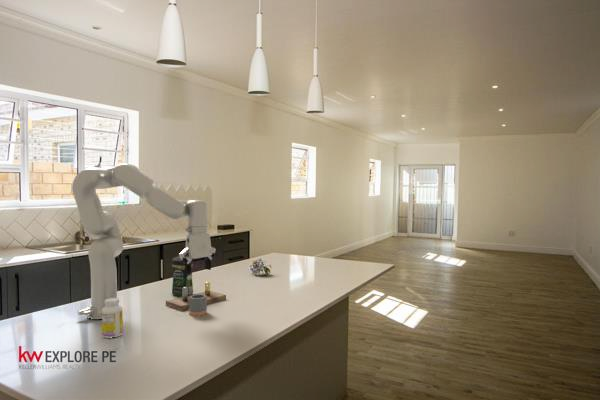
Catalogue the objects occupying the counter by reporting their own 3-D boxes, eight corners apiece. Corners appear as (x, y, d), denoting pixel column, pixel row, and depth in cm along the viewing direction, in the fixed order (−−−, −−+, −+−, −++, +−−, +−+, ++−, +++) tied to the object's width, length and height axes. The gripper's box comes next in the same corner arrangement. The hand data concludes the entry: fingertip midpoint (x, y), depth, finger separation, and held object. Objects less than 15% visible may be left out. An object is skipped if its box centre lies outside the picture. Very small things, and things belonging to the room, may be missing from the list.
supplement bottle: (117, 330, 149) (116, 296, 149) (126, 335, 145) (125, 299, 145) (98, 336, 144) (97, 299, 144) (107, 340, 140) (106, 303, 139)
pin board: (180, 310, 173) (180, 306, 173) (165, 305, 181) (165, 300, 181) (226, 299, 191) (226, 294, 191) (210, 294, 199) (210, 290, 199)
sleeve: (195, 316, 165) (195, 299, 165) (186, 313, 170) (186, 296, 170) (209, 313, 170) (209, 296, 170) (200, 309, 175) (199, 293, 175)
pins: (184, 301, 180) (184, 287, 180) (181, 300, 181) (181, 286, 181) (211, 295, 191) (211, 281, 190) (208, 294, 192) (208, 281, 192)
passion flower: (255, 284, 242) (243, 268, 243) (264, 277, 251) (253, 261, 252) (267, 276, 236) (255, 259, 237) (276, 269, 246) (265, 252, 247)
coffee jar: (169, 295, 197) (168, 257, 197) (180, 291, 205) (180, 254, 204) (185, 297, 193) (184, 258, 193) (195, 293, 201) (195, 256, 200)
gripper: (184, 232, 160) (185, 276, 161) (220, 228, 173) (220, 269, 174) (174, 231, 165) (174, 273, 166) (209, 227, 178) (210, 266, 179)
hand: (198, 271), depth 170 cm, fingers open, 9 cm apart
